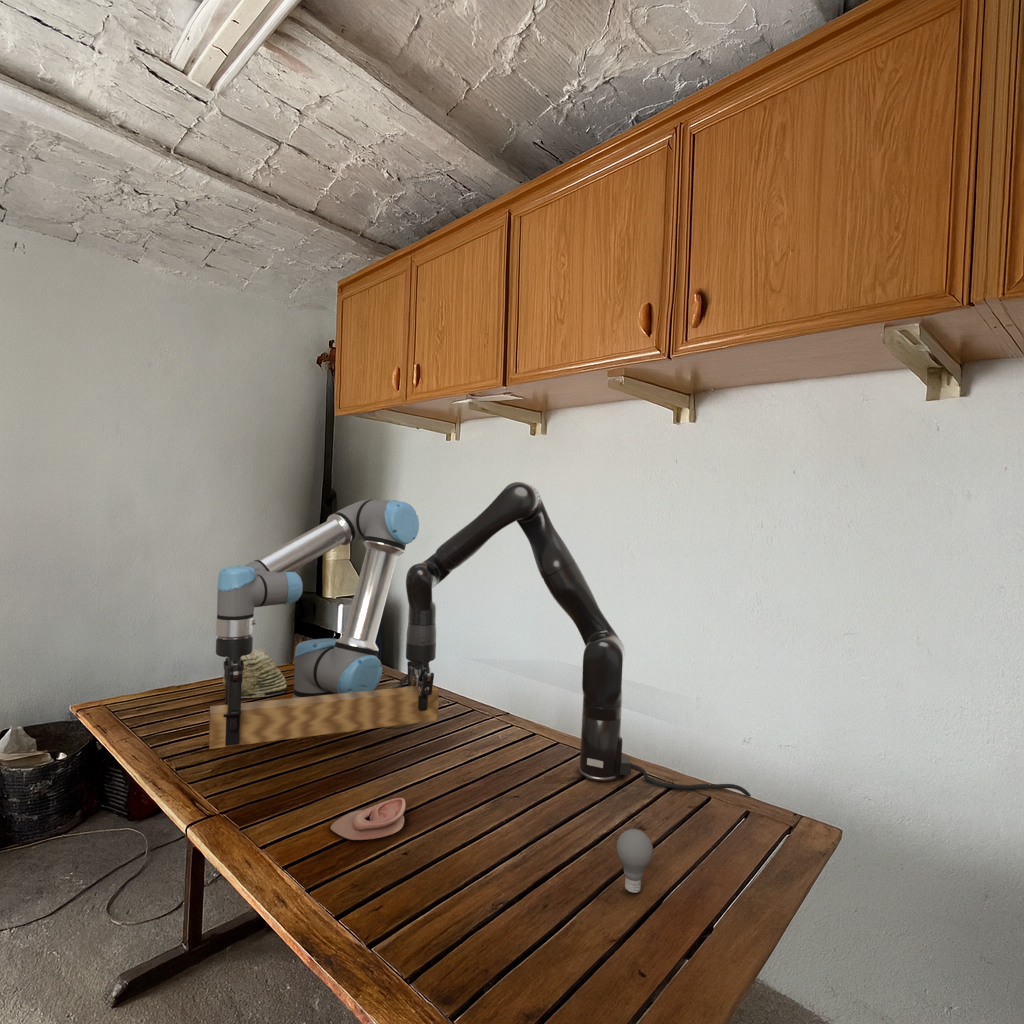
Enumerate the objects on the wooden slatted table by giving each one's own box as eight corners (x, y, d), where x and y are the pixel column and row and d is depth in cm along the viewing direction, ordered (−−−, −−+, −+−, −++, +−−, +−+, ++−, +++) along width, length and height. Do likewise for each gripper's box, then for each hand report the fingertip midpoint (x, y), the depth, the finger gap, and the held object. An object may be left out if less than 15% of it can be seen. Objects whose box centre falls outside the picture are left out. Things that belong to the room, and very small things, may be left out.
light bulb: (610, 879, 108) (613, 822, 108) (644, 879, 109) (647, 822, 109) (619, 902, 102) (622, 840, 102) (655, 901, 103) (658, 840, 103)
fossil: (218, 695, 195) (220, 647, 195) (278, 685, 208) (279, 640, 207) (228, 703, 189) (230, 653, 188) (289, 692, 201) (290, 645, 201)
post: (209, 749, 137) (210, 713, 137) (208, 740, 142) (209, 706, 142) (437, 720, 161) (439, 689, 161) (431, 714, 166) (432, 684, 166)
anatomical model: (323, 814, 118) (350, 787, 130) (322, 835, 118) (350, 806, 130) (389, 824, 116) (412, 796, 127) (389, 846, 116) (411, 816, 127)
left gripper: (256, 644, 135) (253, 752, 135) (249, 627, 151) (245, 724, 151) (218, 646, 131) (214, 757, 132) (214, 629, 147) (211, 728, 148)
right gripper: (445, 645, 157) (442, 714, 157) (425, 633, 169) (423, 697, 170) (416, 648, 153) (413, 717, 154) (398, 635, 166) (396, 700, 166)
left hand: (231, 739), depth 142 cm, fingers closed on post, 5 cm apart
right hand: (418, 706), depth 162 cm, fingers closed on post, 5 cm apart
